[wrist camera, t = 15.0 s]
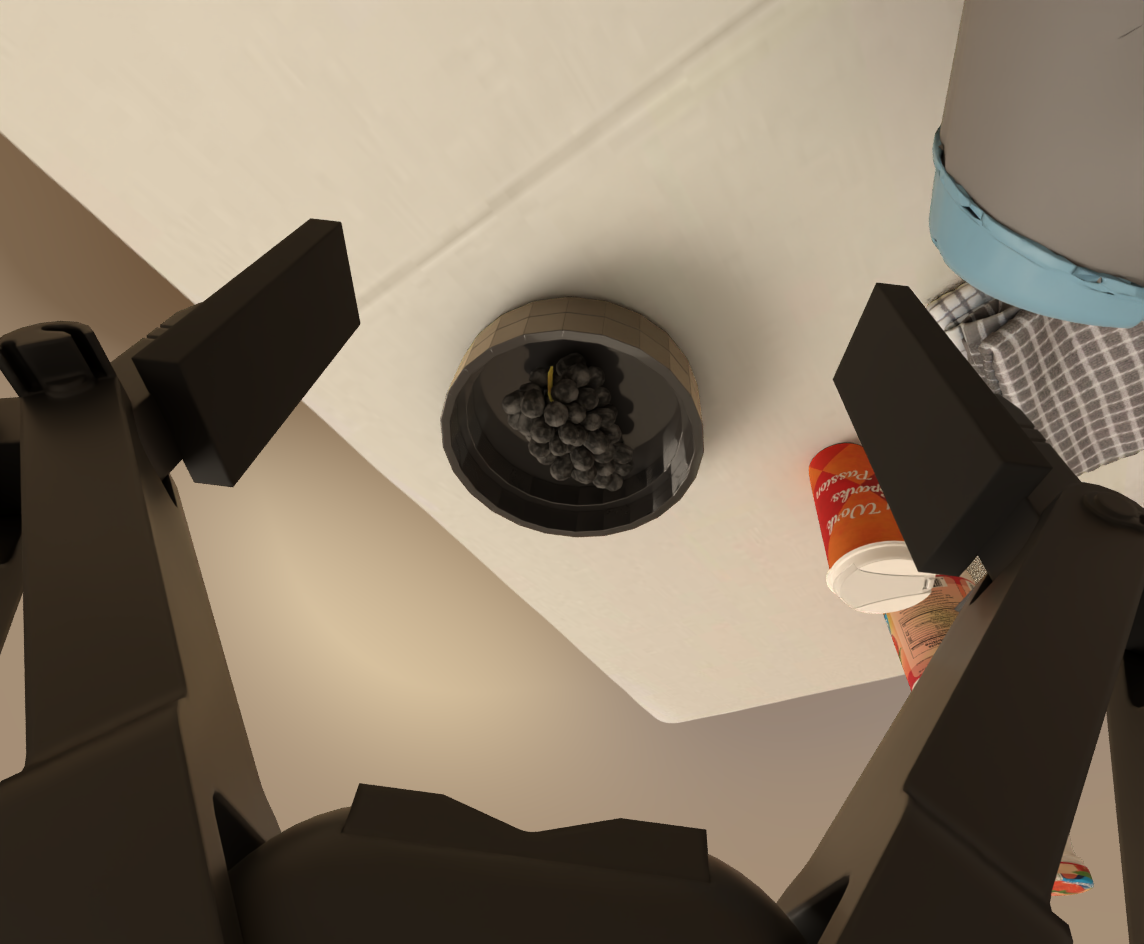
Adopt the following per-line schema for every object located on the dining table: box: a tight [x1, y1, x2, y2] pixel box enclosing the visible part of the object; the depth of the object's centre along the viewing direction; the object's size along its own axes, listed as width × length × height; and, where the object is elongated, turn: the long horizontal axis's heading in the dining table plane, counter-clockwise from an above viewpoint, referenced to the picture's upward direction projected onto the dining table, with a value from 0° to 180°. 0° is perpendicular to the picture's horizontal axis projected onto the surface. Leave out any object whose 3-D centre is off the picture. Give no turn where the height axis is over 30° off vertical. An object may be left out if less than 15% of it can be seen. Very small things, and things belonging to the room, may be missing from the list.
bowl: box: [440, 297, 704, 537], centre depth 50 cm, size 22×22×6 cm
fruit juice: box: [883, 570, 1094, 896], centre depth 53 cm, size 9×9×28 cm
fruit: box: [502, 353, 634, 492], centre depth 49 cm, size 9×8×15 cm
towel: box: [927, 282, 1144, 476], centre depth 40 cm, size 15×18×8 cm
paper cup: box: [809, 443, 936, 614], centre depth 48 cm, size 8×8×14 cm
